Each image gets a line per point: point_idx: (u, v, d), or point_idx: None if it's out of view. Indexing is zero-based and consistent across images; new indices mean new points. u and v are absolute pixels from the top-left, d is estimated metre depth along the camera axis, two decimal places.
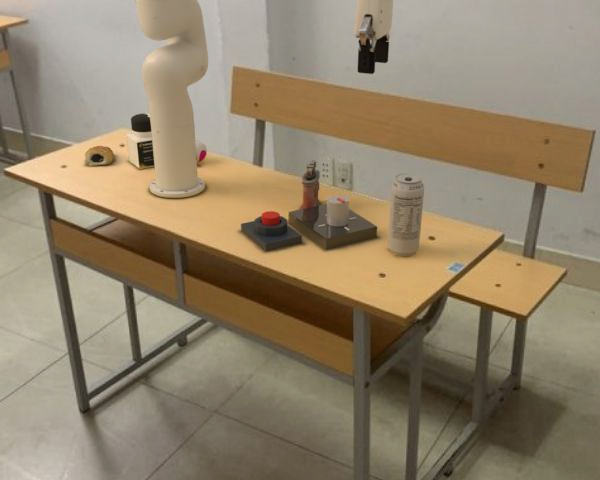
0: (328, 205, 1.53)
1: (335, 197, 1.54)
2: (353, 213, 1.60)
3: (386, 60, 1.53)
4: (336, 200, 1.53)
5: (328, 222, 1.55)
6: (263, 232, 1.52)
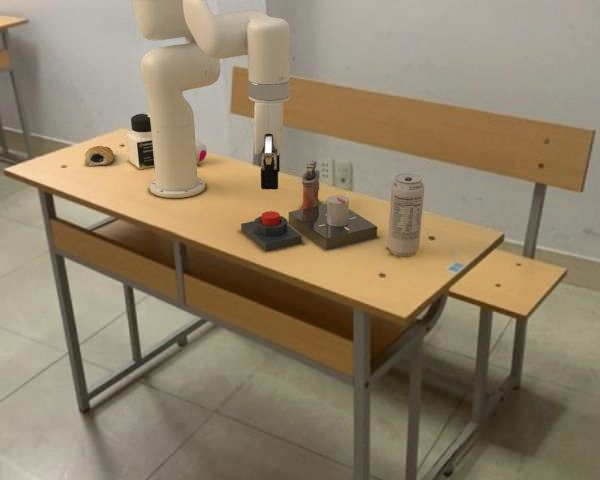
0: (328, 205, 1.53)
1: (335, 197, 1.54)
2: (353, 213, 1.60)
3: (278, 170, 1.53)
4: (336, 200, 1.53)
5: (328, 222, 1.55)
6: (263, 232, 1.52)
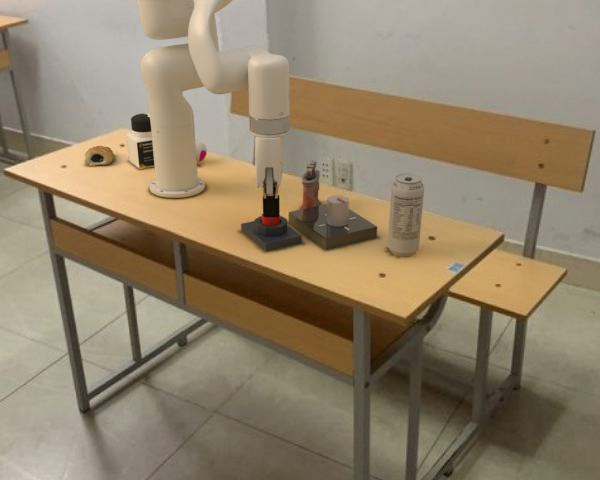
0: (328, 205, 1.53)
1: (335, 197, 1.54)
2: (353, 213, 1.60)
3: (278, 212, 1.53)
4: (336, 200, 1.53)
5: (328, 222, 1.55)
6: (263, 232, 1.52)
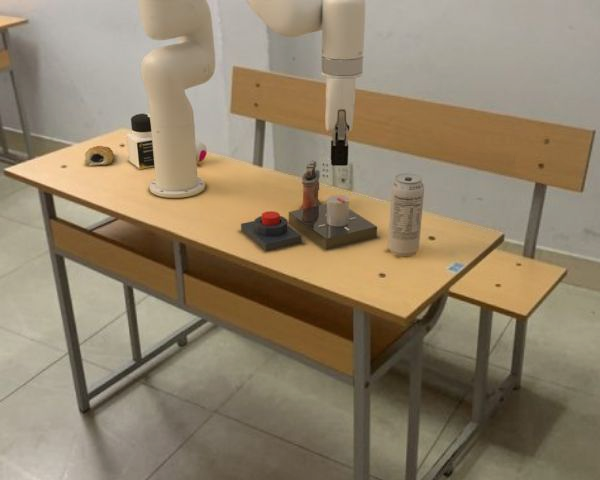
0: (328, 205, 1.53)
1: (335, 197, 1.54)
2: (353, 213, 1.60)
3: None
4: (336, 200, 1.53)
5: (328, 222, 1.55)
6: (263, 232, 1.52)
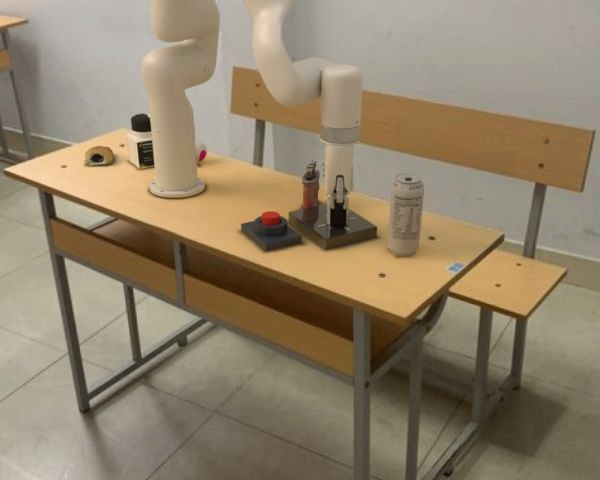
0: (328, 205, 1.53)
1: (335, 197, 1.54)
2: (353, 213, 1.60)
3: None
4: None
5: (328, 222, 1.55)
6: (263, 232, 1.52)
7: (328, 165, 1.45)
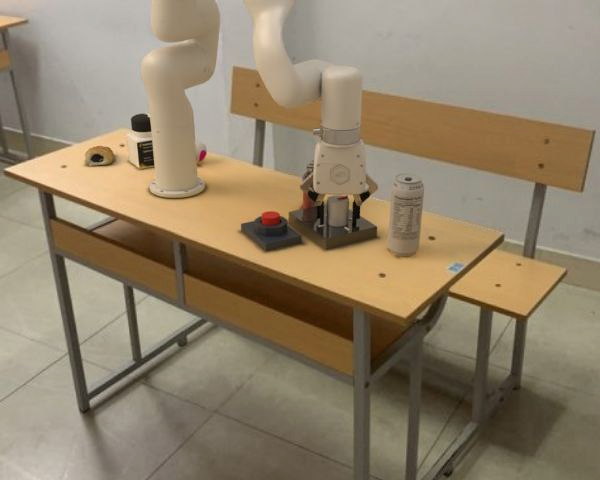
0: (343, 207, 1.52)
1: (334, 199, 1.53)
2: None
3: None
4: (341, 199, 1.53)
5: (343, 223, 1.54)
6: (263, 232, 1.52)
7: (364, 162, 1.48)
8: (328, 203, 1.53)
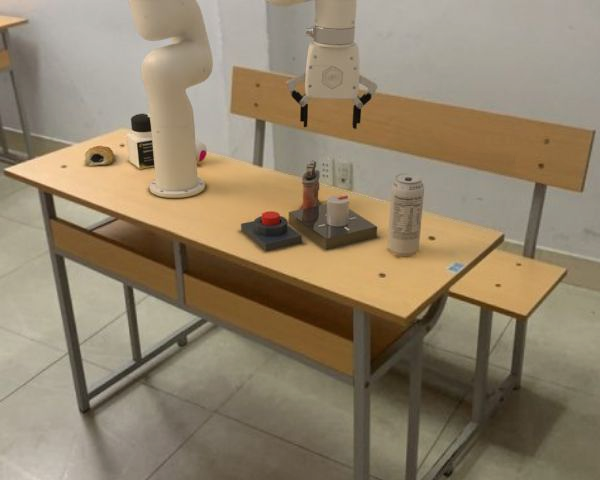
0: (343, 207, 1.52)
1: (334, 199, 1.53)
2: (353, 213, 1.60)
3: None
4: (341, 199, 1.53)
5: (343, 223, 1.54)
6: (263, 232, 1.52)
7: (358, 65, 1.44)
8: (328, 203, 1.53)
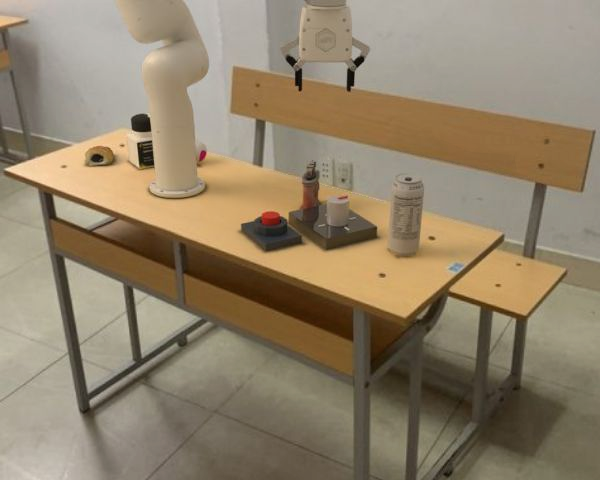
0: (343, 207, 1.52)
1: (334, 199, 1.53)
2: (353, 213, 1.60)
3: None
4: (341, 199, 1.53)
5: (343, 223, 1.54)
6: (263, 232, 1.52)
7: (350, 27, 1.46)
8: (328, 203, 1.53)
